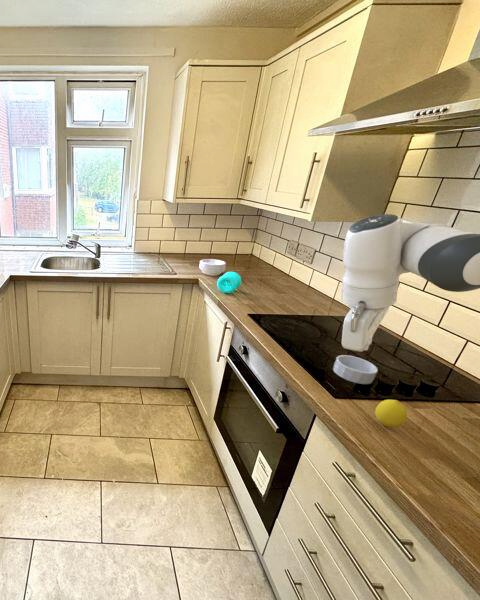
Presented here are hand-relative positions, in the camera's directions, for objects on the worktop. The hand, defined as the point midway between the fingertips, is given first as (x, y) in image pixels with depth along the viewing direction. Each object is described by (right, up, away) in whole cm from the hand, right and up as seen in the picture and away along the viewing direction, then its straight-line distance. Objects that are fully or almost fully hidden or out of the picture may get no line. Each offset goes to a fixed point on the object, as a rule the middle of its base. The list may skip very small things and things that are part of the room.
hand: (364, 346), depth 73 cm
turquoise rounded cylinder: (+14, +15, +97) cm, 99 cm away
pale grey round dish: (+21, -13, +28) cm, 37 cm away
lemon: (+12, -21, +8) cm, 26 cm away
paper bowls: (+17, +27, +126) cm, 130 cm away
